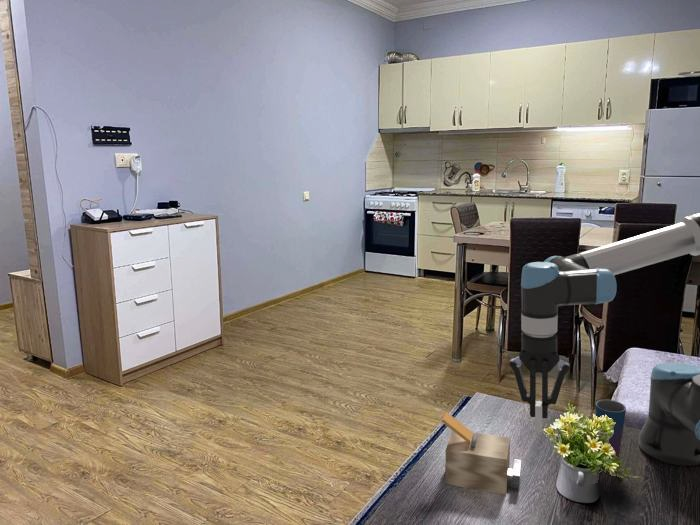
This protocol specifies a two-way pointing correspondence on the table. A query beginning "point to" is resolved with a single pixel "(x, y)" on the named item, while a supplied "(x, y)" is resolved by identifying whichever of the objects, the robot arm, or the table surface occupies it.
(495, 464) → the block
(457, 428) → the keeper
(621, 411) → the cup
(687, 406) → the robot arm
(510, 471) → the white l-shaped bar
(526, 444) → the table surface
